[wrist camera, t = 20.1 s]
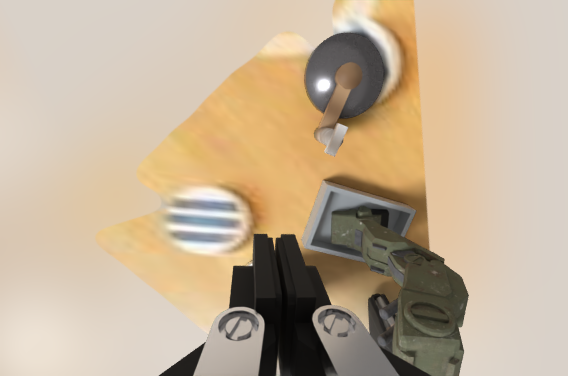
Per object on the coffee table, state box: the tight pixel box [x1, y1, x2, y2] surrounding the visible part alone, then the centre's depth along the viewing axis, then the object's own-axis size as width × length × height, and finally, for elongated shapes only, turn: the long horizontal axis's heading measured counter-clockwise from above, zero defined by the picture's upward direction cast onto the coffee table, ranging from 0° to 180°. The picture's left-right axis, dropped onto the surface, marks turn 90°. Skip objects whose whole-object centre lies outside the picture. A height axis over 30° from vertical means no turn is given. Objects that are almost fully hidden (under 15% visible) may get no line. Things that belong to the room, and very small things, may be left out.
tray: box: [301, 180, 416, 263], centre depth 49 cm, size 12×17×3 cm
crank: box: [314, 62, 362, 157], centre depth 39 cm, size 13×4×8 cm, turn 157°
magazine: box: [368, 294, 396, 354], centre depth 55 cm, size 17×3×30 cm
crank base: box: [304, 33, 384, 118], centre depth 43 cm, size 12×12×2 cm
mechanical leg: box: [331, 206, 469, 376], centre depth 37 cm, size 14×7×30 cm, turn 91°
